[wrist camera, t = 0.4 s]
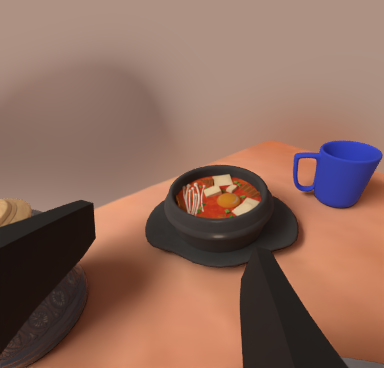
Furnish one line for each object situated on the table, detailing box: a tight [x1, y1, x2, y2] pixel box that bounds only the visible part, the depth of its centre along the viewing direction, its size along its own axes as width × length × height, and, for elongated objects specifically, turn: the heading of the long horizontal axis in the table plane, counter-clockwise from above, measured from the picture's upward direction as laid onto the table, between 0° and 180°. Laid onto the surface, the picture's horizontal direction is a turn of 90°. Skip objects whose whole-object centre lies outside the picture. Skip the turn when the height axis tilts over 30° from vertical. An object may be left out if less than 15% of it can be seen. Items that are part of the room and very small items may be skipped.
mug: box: [293, 141, 382, 208], centre depth 36 cm, size 8×12×10 cm
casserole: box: [146, 165, 298, 267], centre depth 34 cm, size 25×19×8 cm
